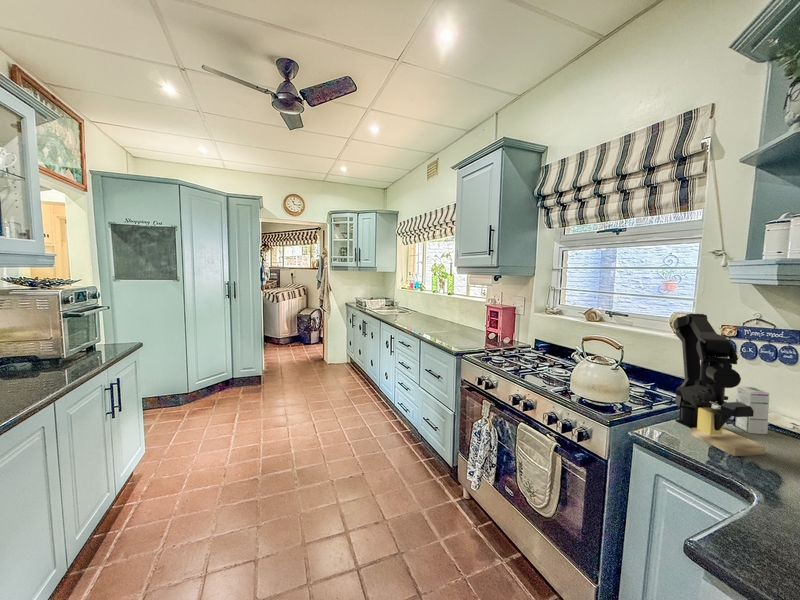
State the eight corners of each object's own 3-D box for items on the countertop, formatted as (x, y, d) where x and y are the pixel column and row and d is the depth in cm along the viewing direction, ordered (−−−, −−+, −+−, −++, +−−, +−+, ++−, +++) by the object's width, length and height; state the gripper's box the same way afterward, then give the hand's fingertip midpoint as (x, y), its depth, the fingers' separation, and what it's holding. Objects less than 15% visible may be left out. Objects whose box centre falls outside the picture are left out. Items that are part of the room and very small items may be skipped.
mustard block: (697, 429, 103) (698, 407, 103) (708, 428, 104) (709, 406, 103) (710, 435, 99) (711, 412, 99) (721, 434, 100) (723, 411, 99)
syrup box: (768, 434, 108) (771, 392, 107) (747, 433, 109) (750, 391, 109) (753, 427, 114) (756, 387, 113) (733, 425, 115) (736, 386, 114)
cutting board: (691, 435, 108) (691, 427, 108) (718, 433, 109) (718, 426, 109) (734, 456, 95) (735, 448, 95) (764, 454, 96) (765, 446, 96)
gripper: (661, 370, 109) (659, 415, 110) (721, 389, 90) (717, 443, 91) (692, 369, 110) (689, 414, 111) (757, 388, 91) (753, 441, 92)
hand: (709, 427), depth 101 cm, fingers closed on mustard block, 4 cm apart
